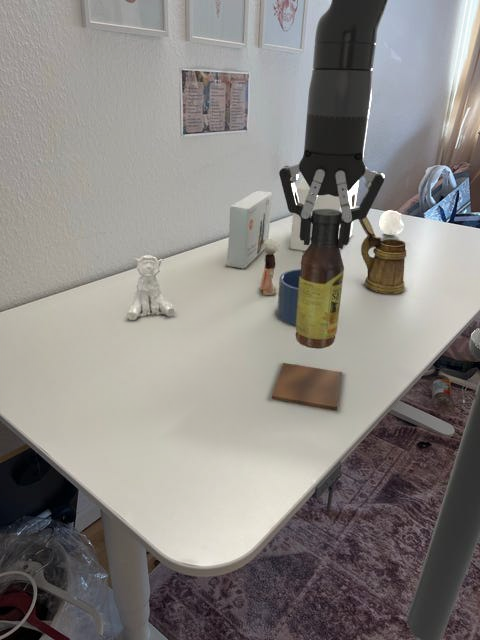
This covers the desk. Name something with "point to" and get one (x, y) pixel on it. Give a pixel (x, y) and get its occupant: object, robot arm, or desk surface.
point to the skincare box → (248, 228)
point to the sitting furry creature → (148, 290)
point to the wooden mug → (383, 262)
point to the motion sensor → (391, 223)
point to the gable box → (320, 203)
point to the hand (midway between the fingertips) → (323, 244)
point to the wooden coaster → (308, 386)
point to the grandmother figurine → (269, 267)
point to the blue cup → (288, 296)
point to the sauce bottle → (320, 282)
